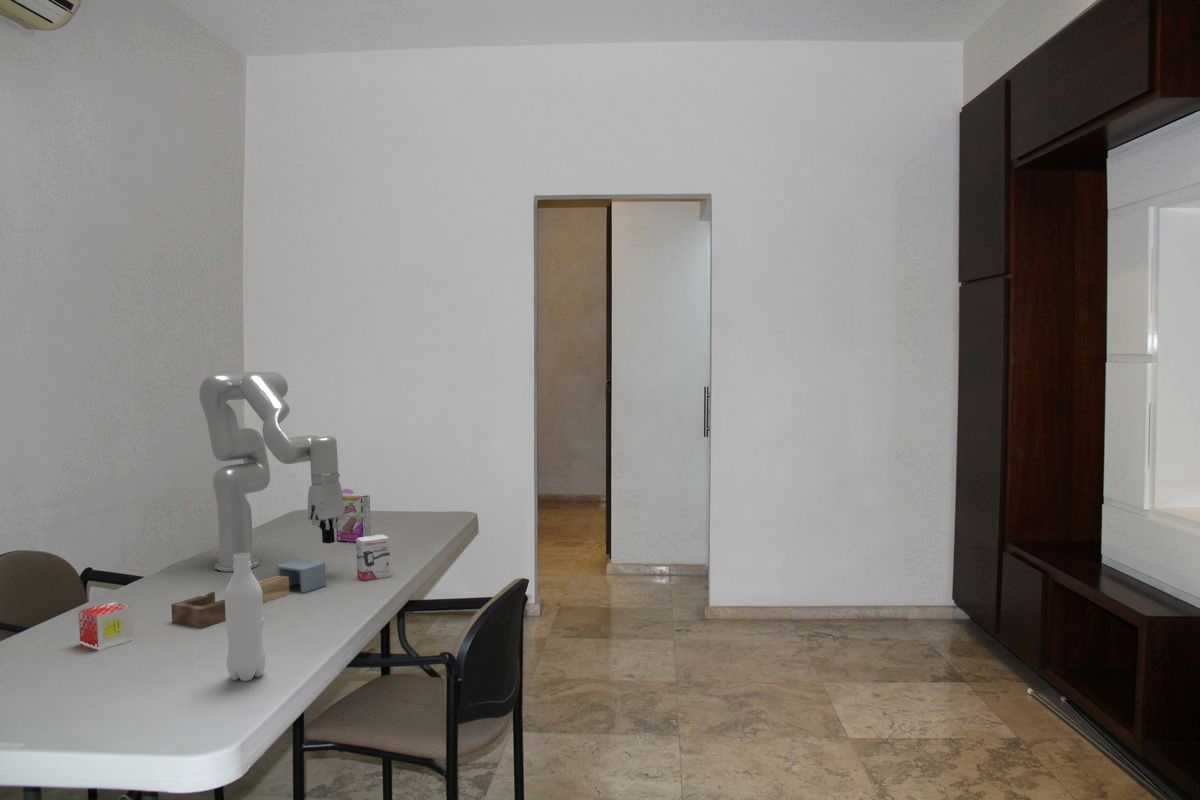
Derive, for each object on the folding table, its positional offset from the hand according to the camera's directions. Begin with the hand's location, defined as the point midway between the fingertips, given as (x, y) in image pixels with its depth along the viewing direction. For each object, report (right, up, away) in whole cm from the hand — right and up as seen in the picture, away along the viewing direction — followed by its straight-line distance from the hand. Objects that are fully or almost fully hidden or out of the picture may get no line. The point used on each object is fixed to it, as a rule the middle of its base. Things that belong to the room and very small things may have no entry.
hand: (328, 542), depth 246 cm
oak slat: (-11, -12, -20) cm, 26 cm away
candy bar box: (-7, -8, +51) cm, 52 cm away
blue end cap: (-5, -11, -8) cm, 15 cm away
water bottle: (+7, -15, -74) cm, 76 cm away
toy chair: (-14, -7, +72) cm, 74 cm away
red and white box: (-34, -15, -51) cm, 63 cm away
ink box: (+13, -11, +2) cm, 17 cm away
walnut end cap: (-19, -13, -35) cm, 41 cm away
